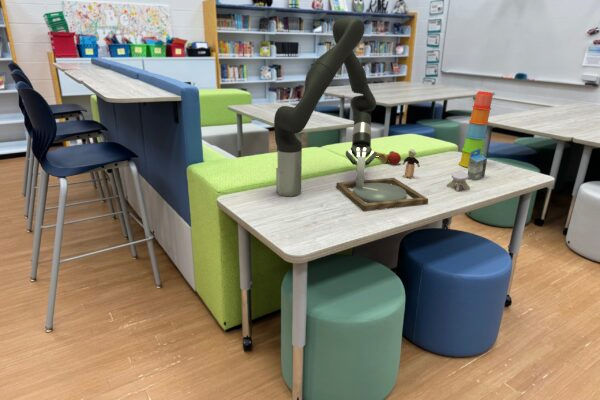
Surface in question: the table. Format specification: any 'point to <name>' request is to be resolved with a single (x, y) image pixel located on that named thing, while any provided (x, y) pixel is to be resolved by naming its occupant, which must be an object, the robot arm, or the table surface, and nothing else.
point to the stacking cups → (477, 126)
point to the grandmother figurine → (410, 164)
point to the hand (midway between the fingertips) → (360, 173)
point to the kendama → (389, 157)
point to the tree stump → (459, 180)
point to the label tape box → (476, 165)
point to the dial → (375, 188)
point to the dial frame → (416, 200)
